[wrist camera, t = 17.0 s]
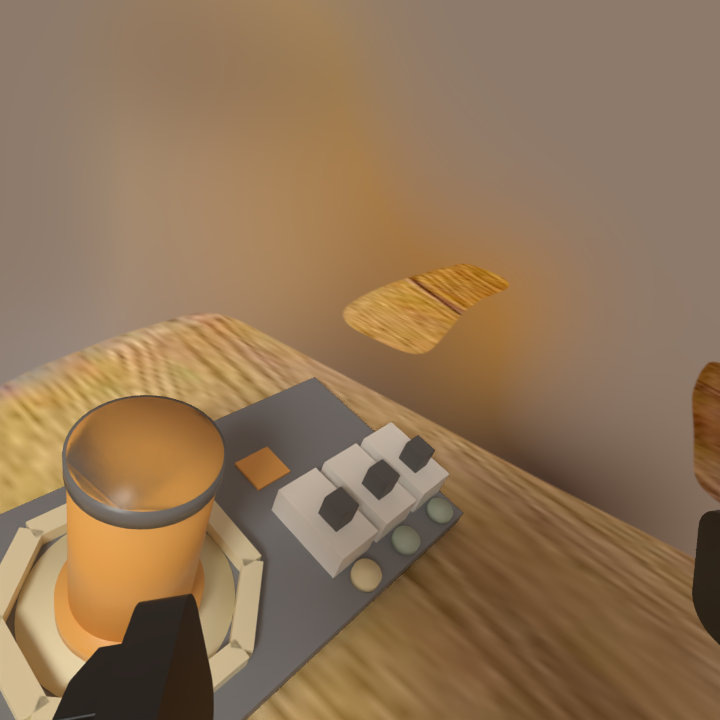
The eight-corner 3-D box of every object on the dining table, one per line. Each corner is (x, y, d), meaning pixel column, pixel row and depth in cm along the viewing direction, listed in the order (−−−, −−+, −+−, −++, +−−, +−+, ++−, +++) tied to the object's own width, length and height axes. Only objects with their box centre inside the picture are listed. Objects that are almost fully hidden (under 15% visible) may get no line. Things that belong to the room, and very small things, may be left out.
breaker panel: (310, 387, 41) (326, 343, 38) (457, 522, 35) (485, 480, 33) (-85, 566, 24) (-104, 508, 21) (73, 880, 18) (73, 851, 16)
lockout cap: (201, 537, 28) (235, 394, 22) (199, 662, 23) (241, 526, 18) (69, 537, 26) (67, 380, 20) (39, 675, 21) (26, 525, 16)
